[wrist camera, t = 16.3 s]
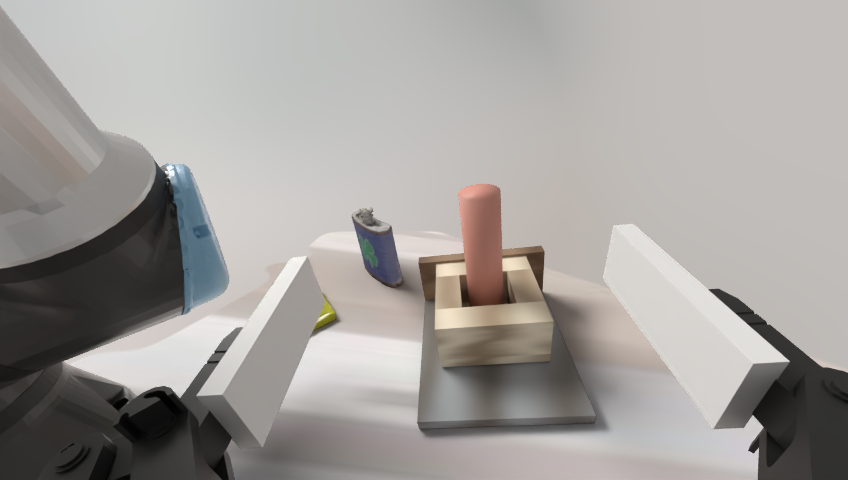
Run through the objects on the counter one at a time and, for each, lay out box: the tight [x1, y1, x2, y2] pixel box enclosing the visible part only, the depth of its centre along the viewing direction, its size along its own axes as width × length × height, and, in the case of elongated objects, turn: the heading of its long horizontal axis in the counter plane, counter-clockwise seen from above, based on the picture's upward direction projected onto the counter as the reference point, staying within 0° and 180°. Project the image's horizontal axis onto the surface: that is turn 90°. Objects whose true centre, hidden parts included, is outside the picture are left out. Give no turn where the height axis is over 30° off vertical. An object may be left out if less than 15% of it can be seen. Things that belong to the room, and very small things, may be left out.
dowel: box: [458, 184, 504, 307], centre depth 30 cm, size 4×4×14 cm
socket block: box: [435, 256, 554, 367], centre depth 32 cm, size 10×10×5 cm
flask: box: [352, 207, 403, 287], centre depth 44 cm, size 9×3×11 cm, turn 37°
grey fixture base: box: [418, 246, 596, 429], centre depth 31 cm, size 14×16×6 cm
